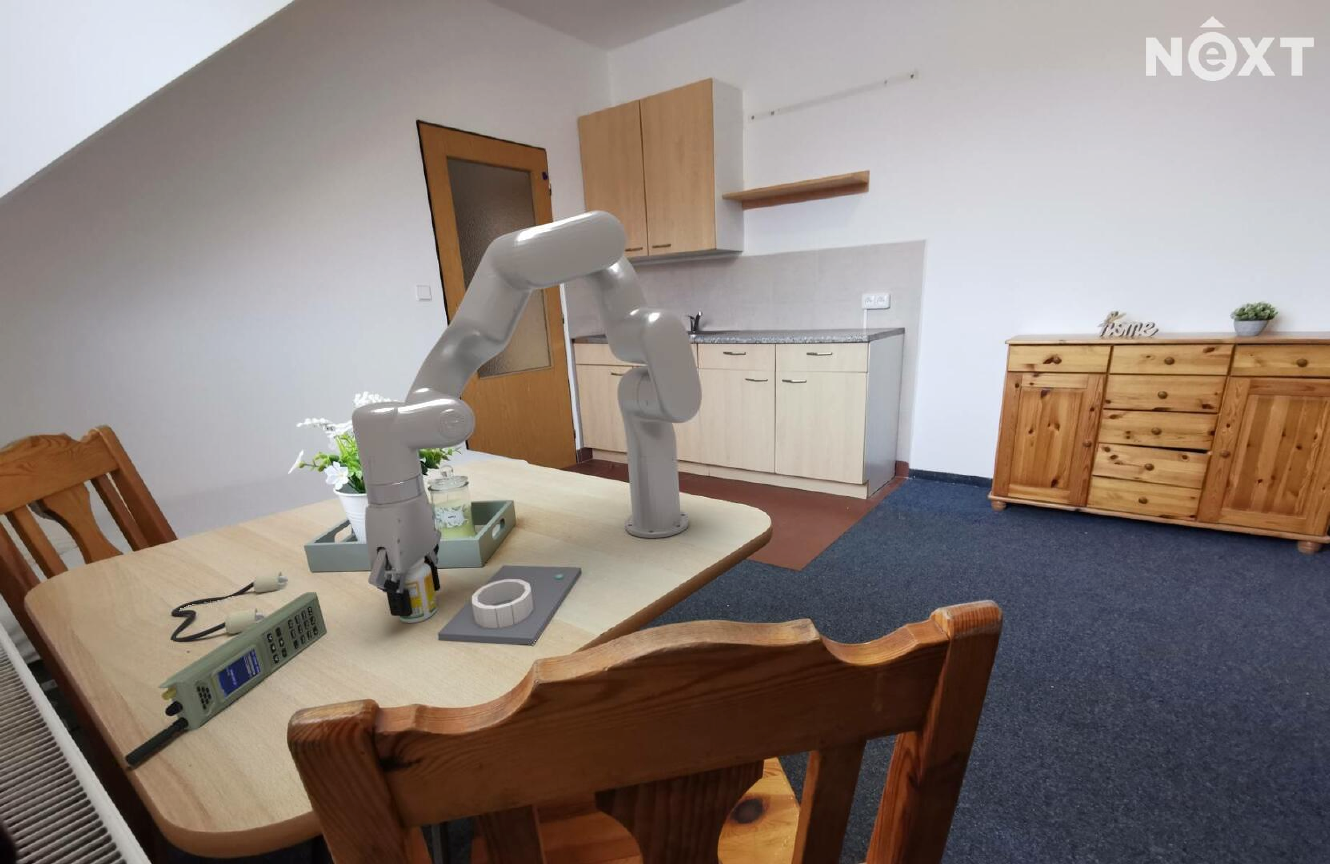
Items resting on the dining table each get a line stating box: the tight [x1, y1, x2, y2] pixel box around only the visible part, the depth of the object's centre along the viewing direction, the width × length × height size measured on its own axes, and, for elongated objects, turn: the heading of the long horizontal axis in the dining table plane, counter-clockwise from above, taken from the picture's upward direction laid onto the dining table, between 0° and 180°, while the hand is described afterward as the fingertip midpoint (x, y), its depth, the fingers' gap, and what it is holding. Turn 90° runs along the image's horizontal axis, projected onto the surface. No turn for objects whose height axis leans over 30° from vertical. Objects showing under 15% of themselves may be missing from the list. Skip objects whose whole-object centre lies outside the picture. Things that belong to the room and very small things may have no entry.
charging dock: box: [437, 564, 582, 645], centre depth 86 cm, size 20×14×4 cm
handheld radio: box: [124, 591, 328, 767], centre depth 70 cm, size 7×3×25 cm
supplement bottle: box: [392, 557, 438, 624], centre depth 84 cm, size 5×5×10 cm
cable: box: [170, 571, 289, 643], centre depth 88 cm, size 16×16×4 cm
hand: (416, 600), depth 85 cm, fingers open, 6 cm apart
